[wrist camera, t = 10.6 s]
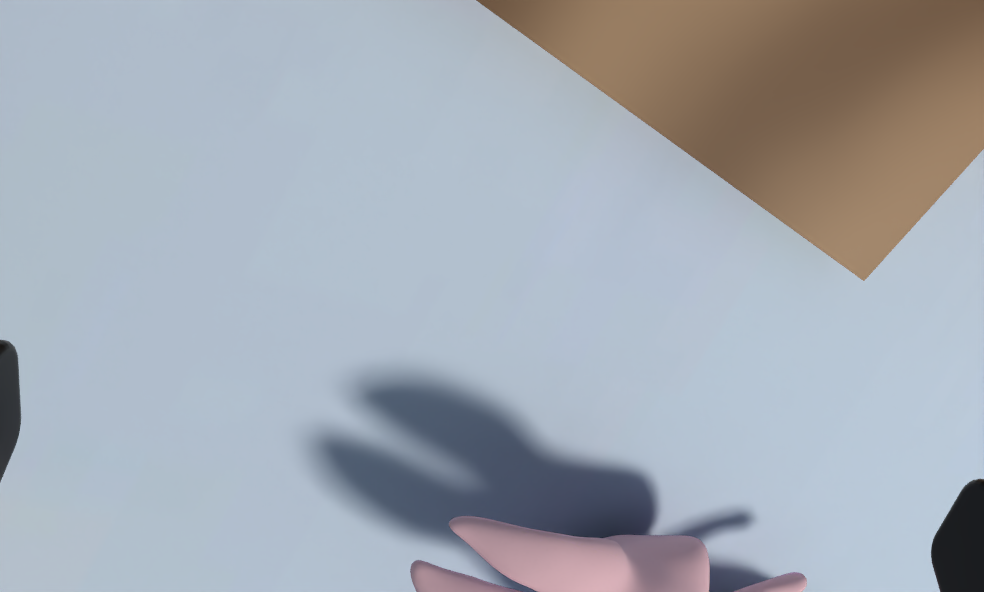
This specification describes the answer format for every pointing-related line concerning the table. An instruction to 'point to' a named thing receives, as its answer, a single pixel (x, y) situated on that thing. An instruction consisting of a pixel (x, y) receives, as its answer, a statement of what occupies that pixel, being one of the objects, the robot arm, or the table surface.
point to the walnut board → (793, 99)
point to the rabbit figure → (582, 562)
